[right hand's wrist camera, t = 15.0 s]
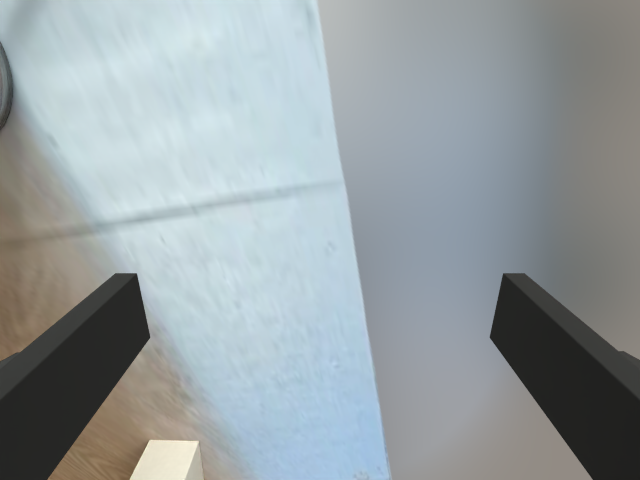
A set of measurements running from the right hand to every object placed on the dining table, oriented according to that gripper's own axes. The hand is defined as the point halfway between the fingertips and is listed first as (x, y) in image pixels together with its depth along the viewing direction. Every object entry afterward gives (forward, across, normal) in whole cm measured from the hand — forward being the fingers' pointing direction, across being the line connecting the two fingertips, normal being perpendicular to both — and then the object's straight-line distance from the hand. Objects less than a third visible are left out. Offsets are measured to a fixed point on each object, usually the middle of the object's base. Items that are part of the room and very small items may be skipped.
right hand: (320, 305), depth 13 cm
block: (+24, -20, -41) cm, 52 cm away
